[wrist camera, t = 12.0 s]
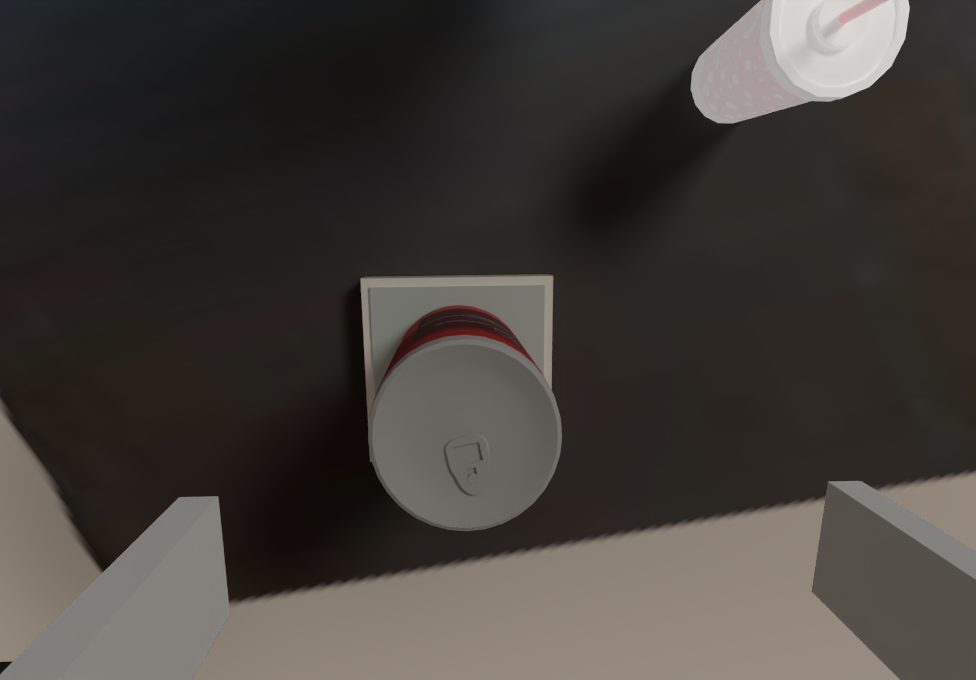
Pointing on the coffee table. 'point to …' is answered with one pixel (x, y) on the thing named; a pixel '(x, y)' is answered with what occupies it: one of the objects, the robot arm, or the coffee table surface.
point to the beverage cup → (797, 55)
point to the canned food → (463, 422)
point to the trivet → (411, 297)
